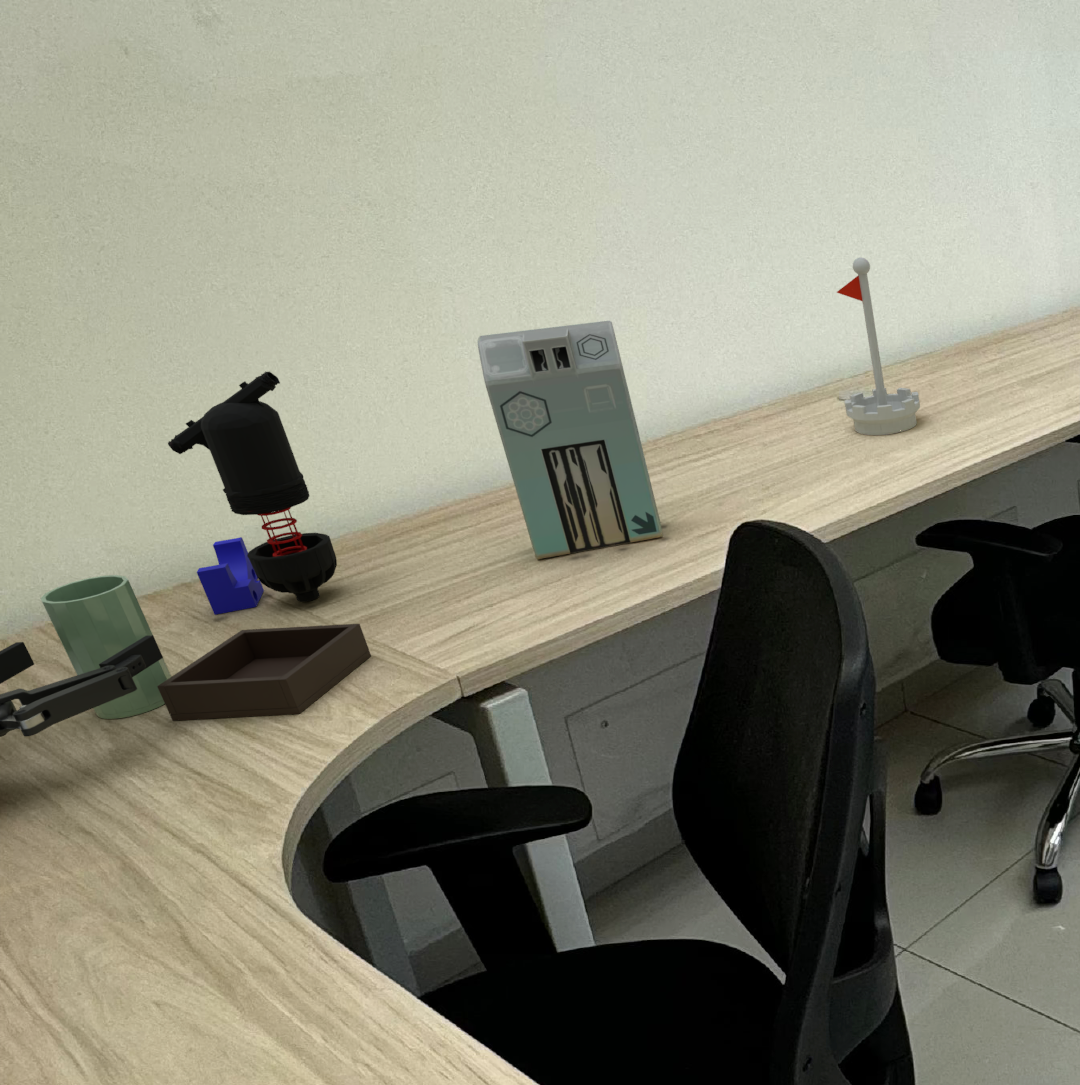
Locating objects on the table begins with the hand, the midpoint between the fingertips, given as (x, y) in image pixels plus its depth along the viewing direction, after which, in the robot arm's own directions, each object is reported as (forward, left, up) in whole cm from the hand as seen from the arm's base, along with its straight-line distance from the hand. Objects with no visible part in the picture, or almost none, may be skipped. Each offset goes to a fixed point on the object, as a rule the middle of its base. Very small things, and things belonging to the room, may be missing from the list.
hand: (90, 649), depth 132 cm
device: (+34, +46, -8) cm, 57 cm away
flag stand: (+65, +97, -8) cm, 117 cm away
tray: (+14, +5, -8) cm, 17 cm away
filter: (+1, +30, -8) cm, 31 cm away
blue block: (-8, +33, -8) cm, 35 cm away
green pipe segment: (0, +3, -8) cm, 8 cm away
